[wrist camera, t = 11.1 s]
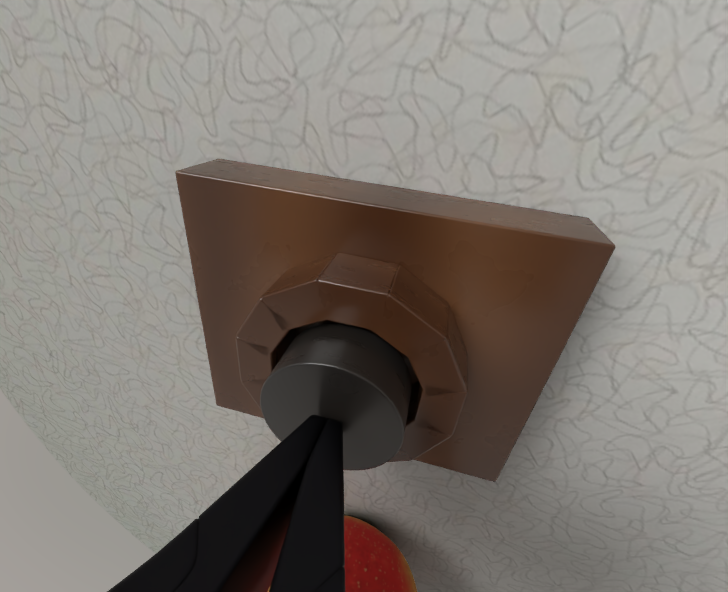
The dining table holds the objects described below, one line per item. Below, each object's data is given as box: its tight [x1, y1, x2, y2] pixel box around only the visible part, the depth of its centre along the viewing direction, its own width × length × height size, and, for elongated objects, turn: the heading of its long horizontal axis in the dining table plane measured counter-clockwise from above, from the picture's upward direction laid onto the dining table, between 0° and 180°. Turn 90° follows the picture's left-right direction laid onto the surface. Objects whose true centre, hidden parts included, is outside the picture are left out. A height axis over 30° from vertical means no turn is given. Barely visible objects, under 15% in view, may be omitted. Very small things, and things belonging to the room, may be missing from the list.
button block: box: [176, 159, 615, 482], centre depth 12 cm, size 12×10×4 cm
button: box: [260, 324, 412, 470], centre depth 10 cm, size 4×4×2 cm
